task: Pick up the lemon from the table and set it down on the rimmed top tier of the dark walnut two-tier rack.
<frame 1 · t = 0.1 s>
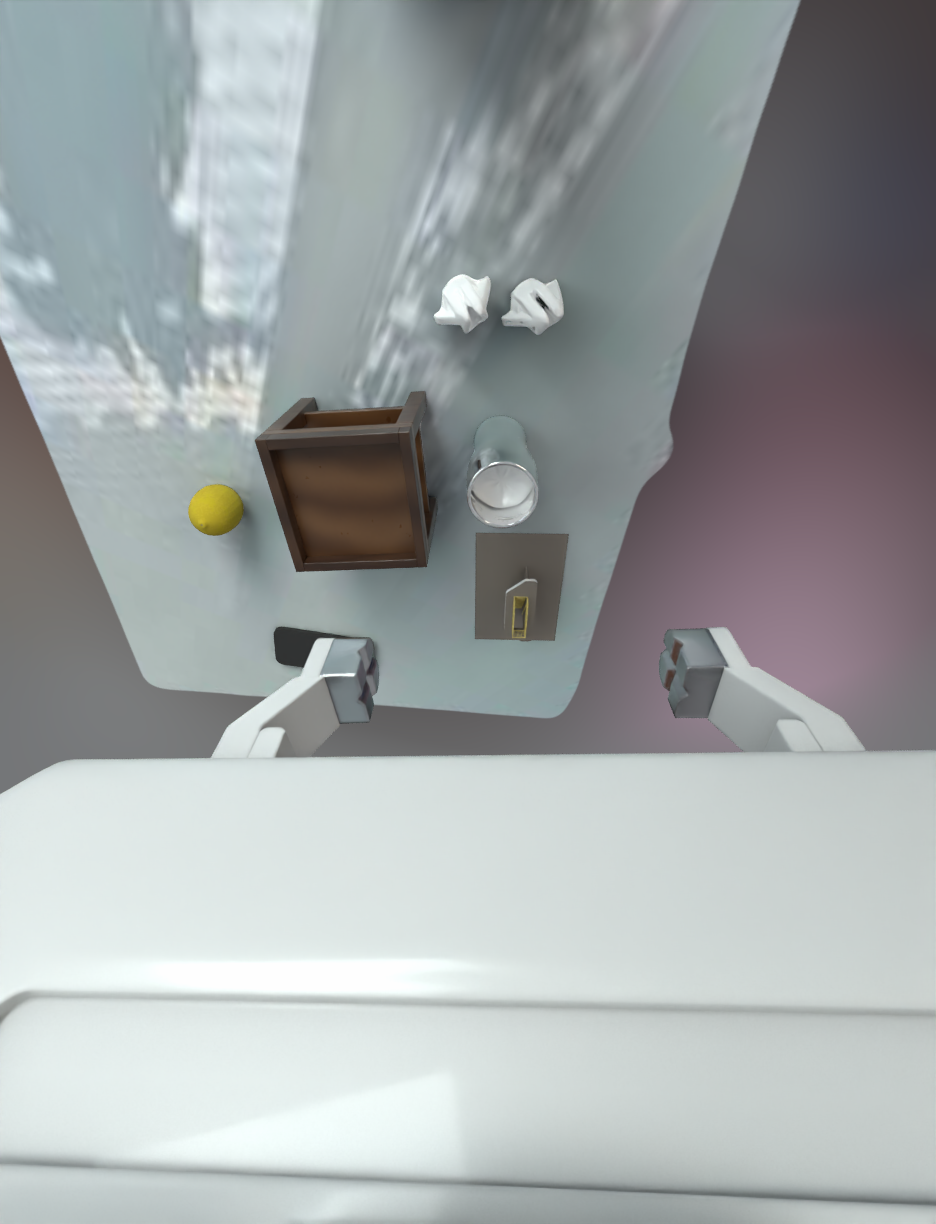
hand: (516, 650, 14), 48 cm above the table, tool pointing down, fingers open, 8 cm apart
platform: (518, 589, 71), on the table
rack: (373, 456, 60), on the table
beer glass: (499, 441, 59), on the table
lemon: (231, 495, 64), on the table
phone: (325, 649, 79), on the table
shaker set: (496, 300, 50), on the table
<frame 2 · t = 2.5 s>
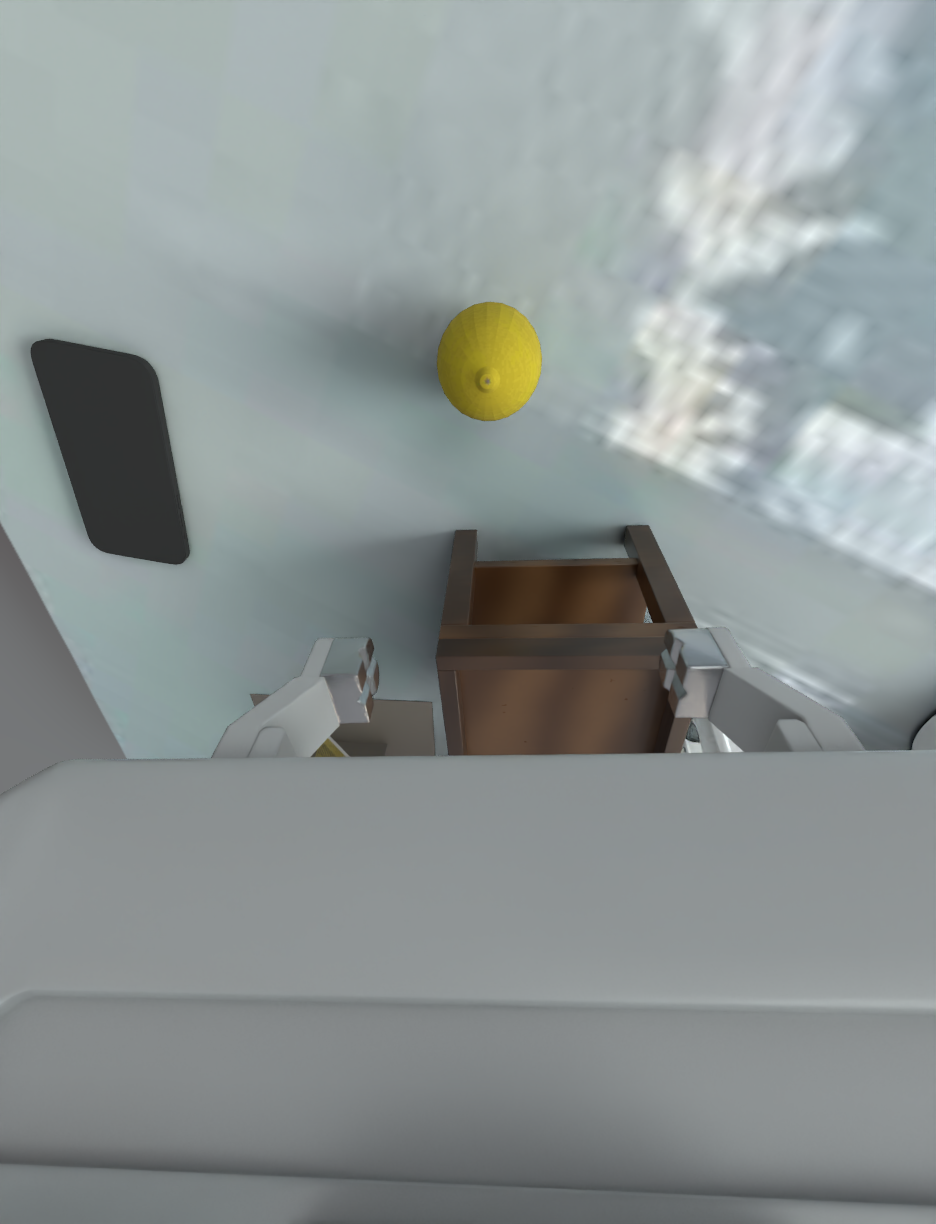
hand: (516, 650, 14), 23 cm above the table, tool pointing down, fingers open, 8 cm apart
platform: (349, 735, 53), on the table
rack: (547, 604, 41), on the table
lemon: (490, 347, 30), on the table
phone: (125, 462, 36), on the table
shaker set: (697, 725, 49), on the table
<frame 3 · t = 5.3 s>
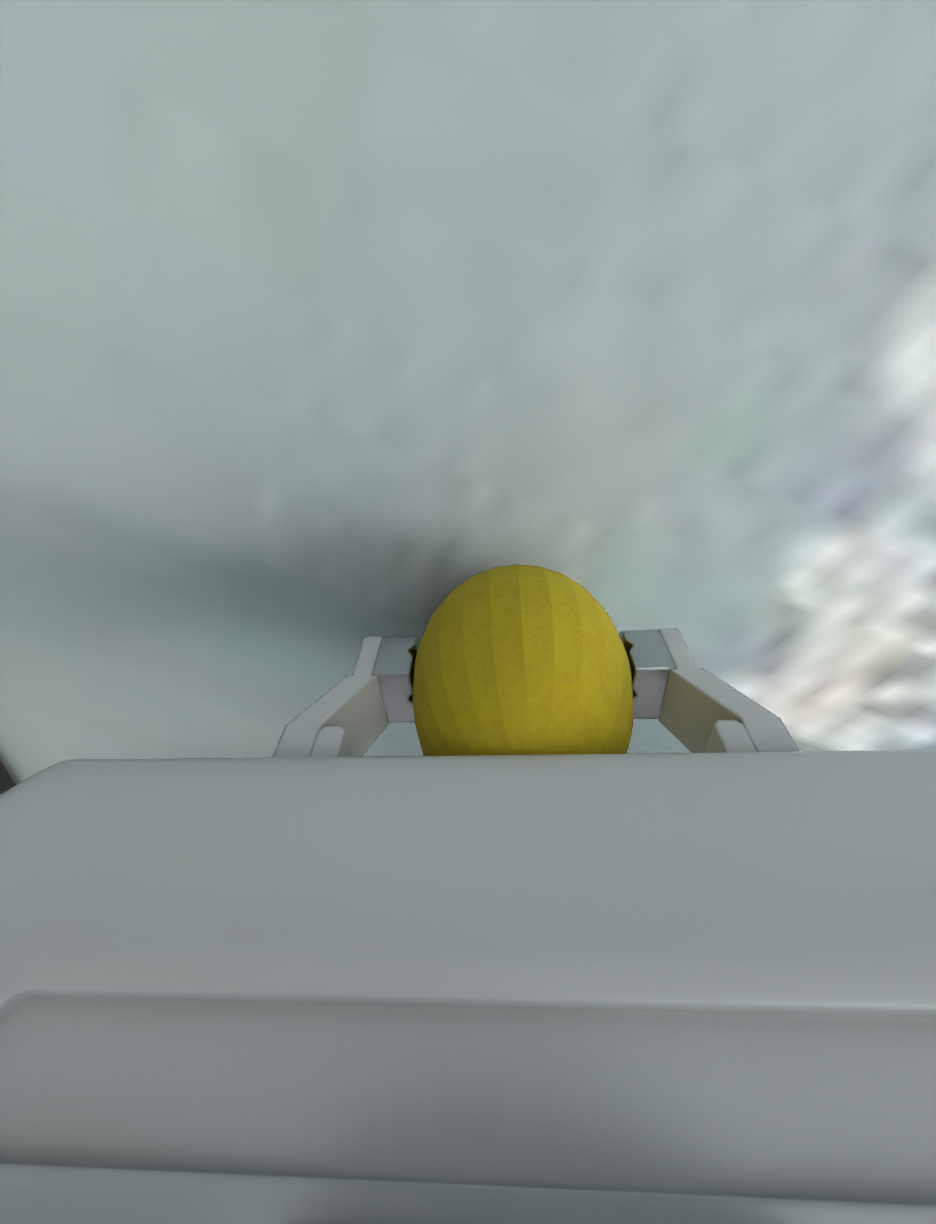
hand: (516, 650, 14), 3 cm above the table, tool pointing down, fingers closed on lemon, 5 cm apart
lemon: (513, 589, 17), on the table, touching gripper
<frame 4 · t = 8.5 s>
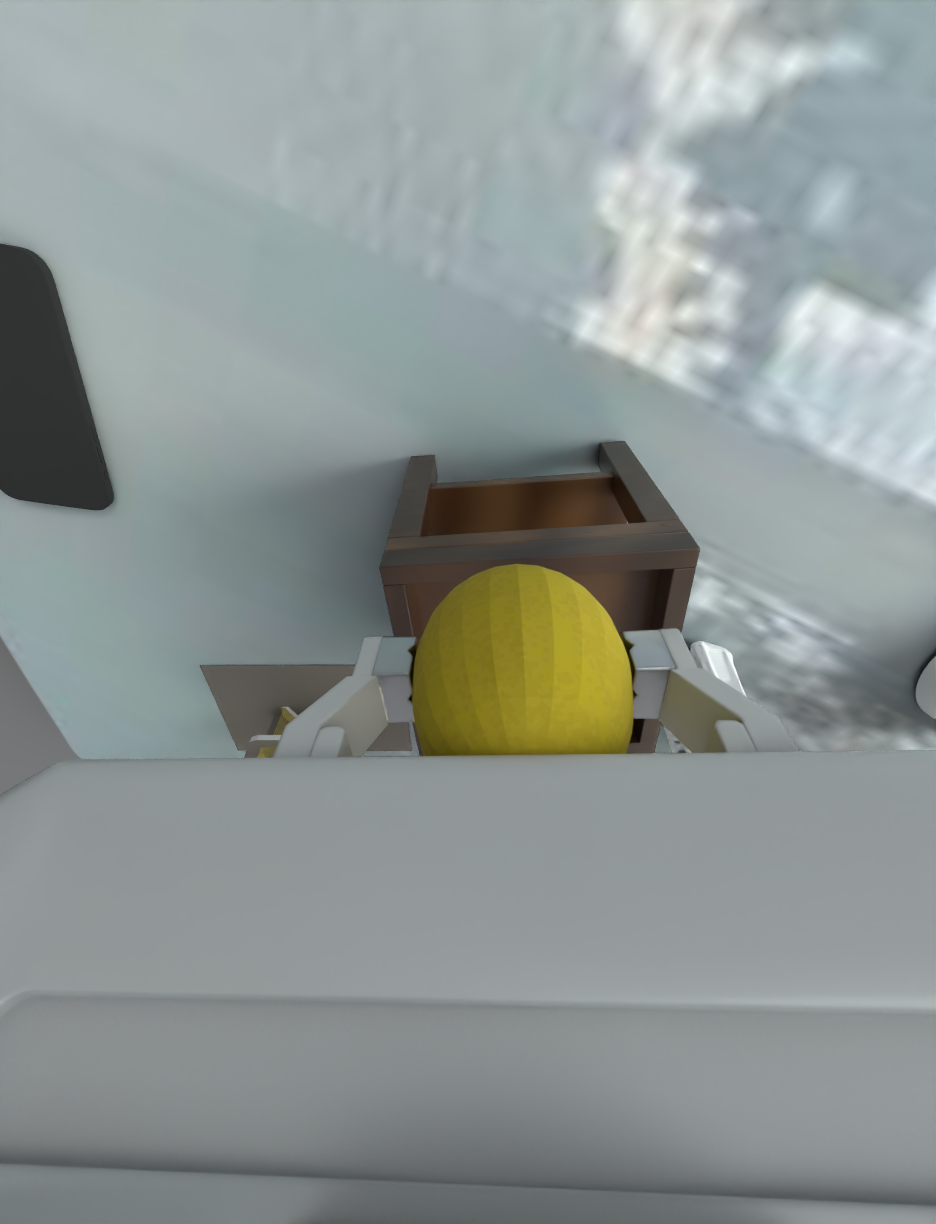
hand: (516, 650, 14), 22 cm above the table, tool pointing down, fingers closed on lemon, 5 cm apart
platform: (313, 709, 49), on the table
rack: (518, 542, 37), on the table
lemon: (513, 589, 17), point 19 cm above the table, touching gripper
phone: (28, 387, 31), on the table
shaker set: (688, 677, 46), on the table
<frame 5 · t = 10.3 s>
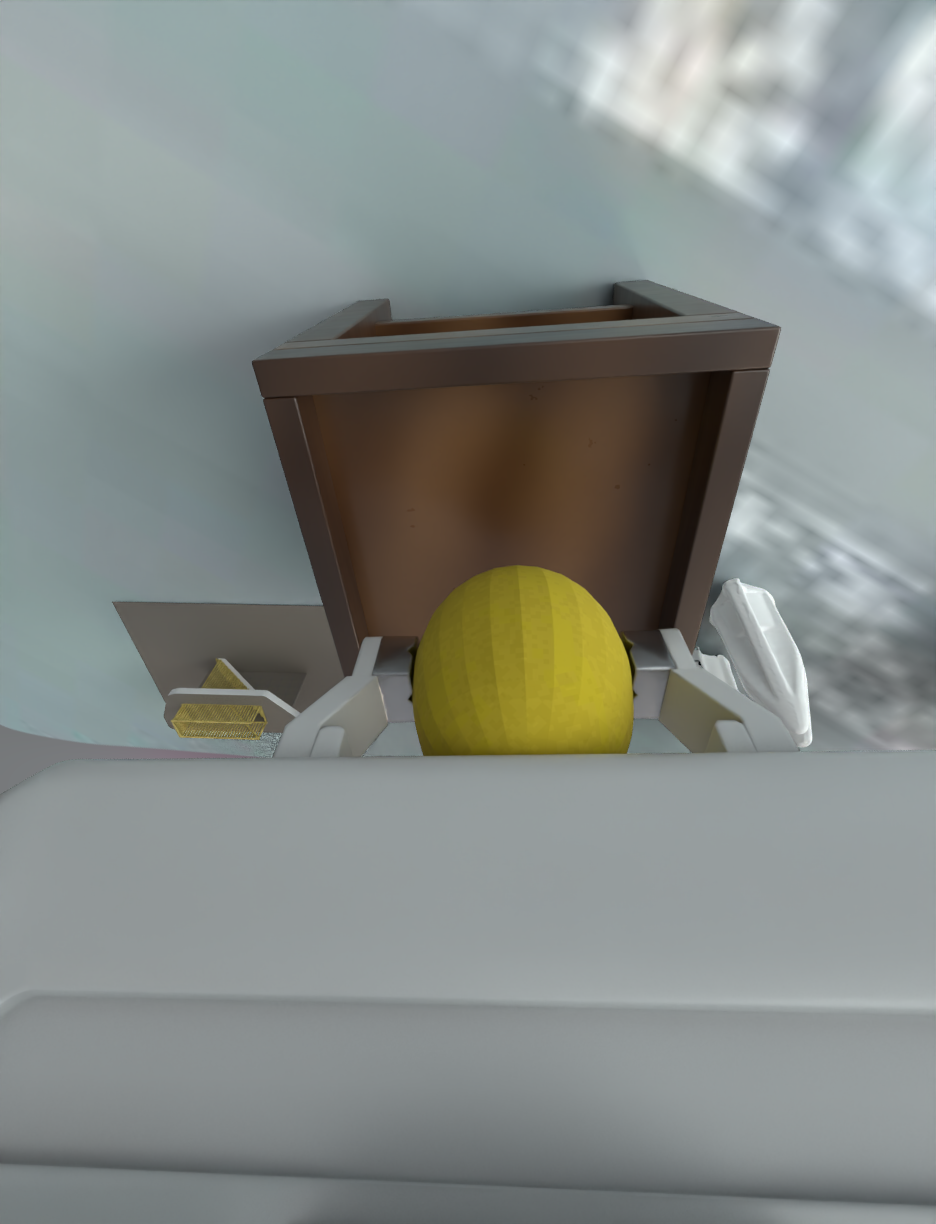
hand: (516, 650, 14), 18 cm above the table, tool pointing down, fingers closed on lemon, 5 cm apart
platform: (256, 663, 40), on the table
rack: (503, 436, 29), on the table
lemon: (513, 590, 17), point 15 cm above the table, touching gripper
shaker set: (715, 632, 37), on the table
when the fingers open (15 cm above the table, at t = 11.7 s): lemon stays where it is, resting on rack.
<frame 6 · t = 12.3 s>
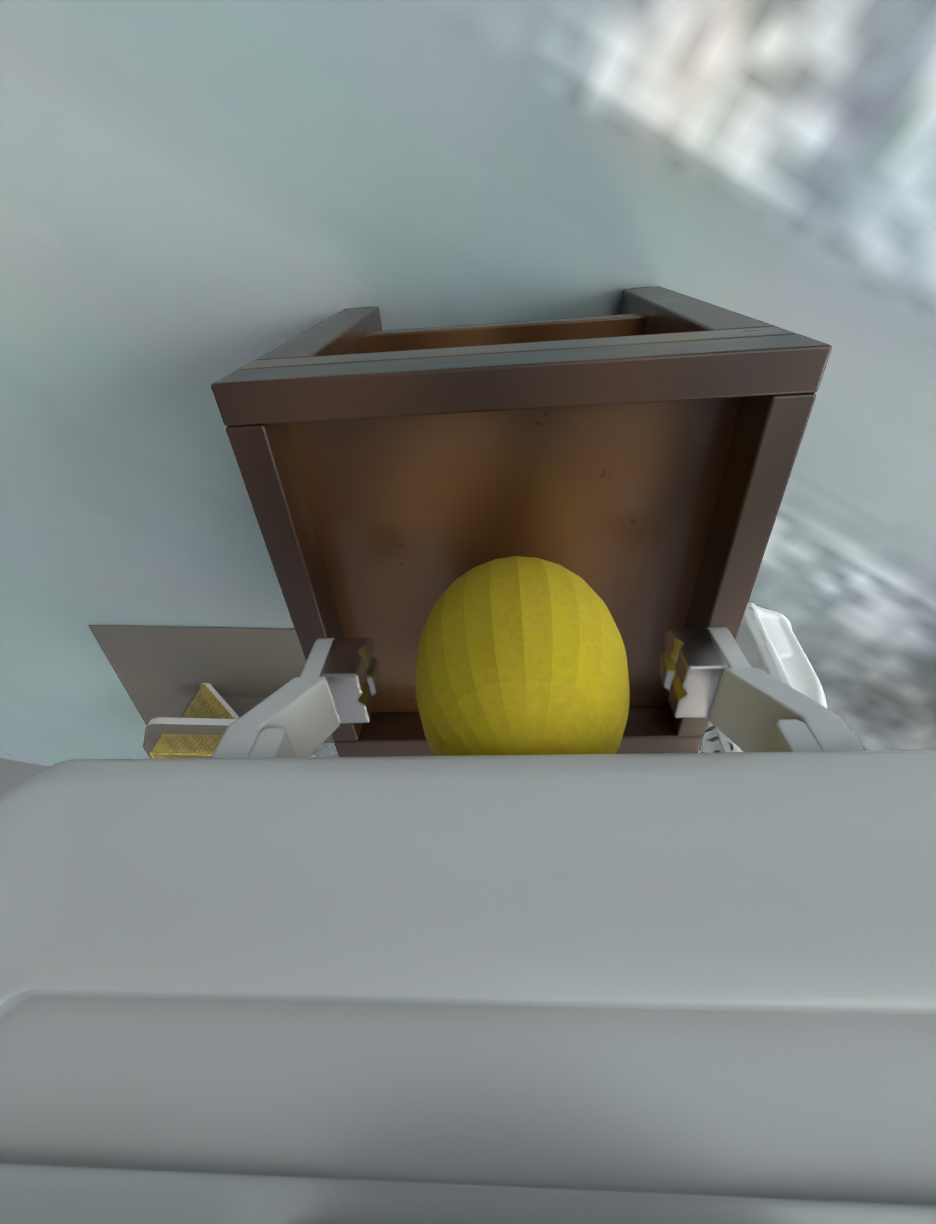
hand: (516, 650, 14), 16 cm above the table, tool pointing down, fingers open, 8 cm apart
platform: (242, 687, 38), on the table
rack: (502, 453, 27), on the table
lemon: (513, 582, 17), point 12 cm above the table, touching rack
shaker set: (726, 655, 35), on the table
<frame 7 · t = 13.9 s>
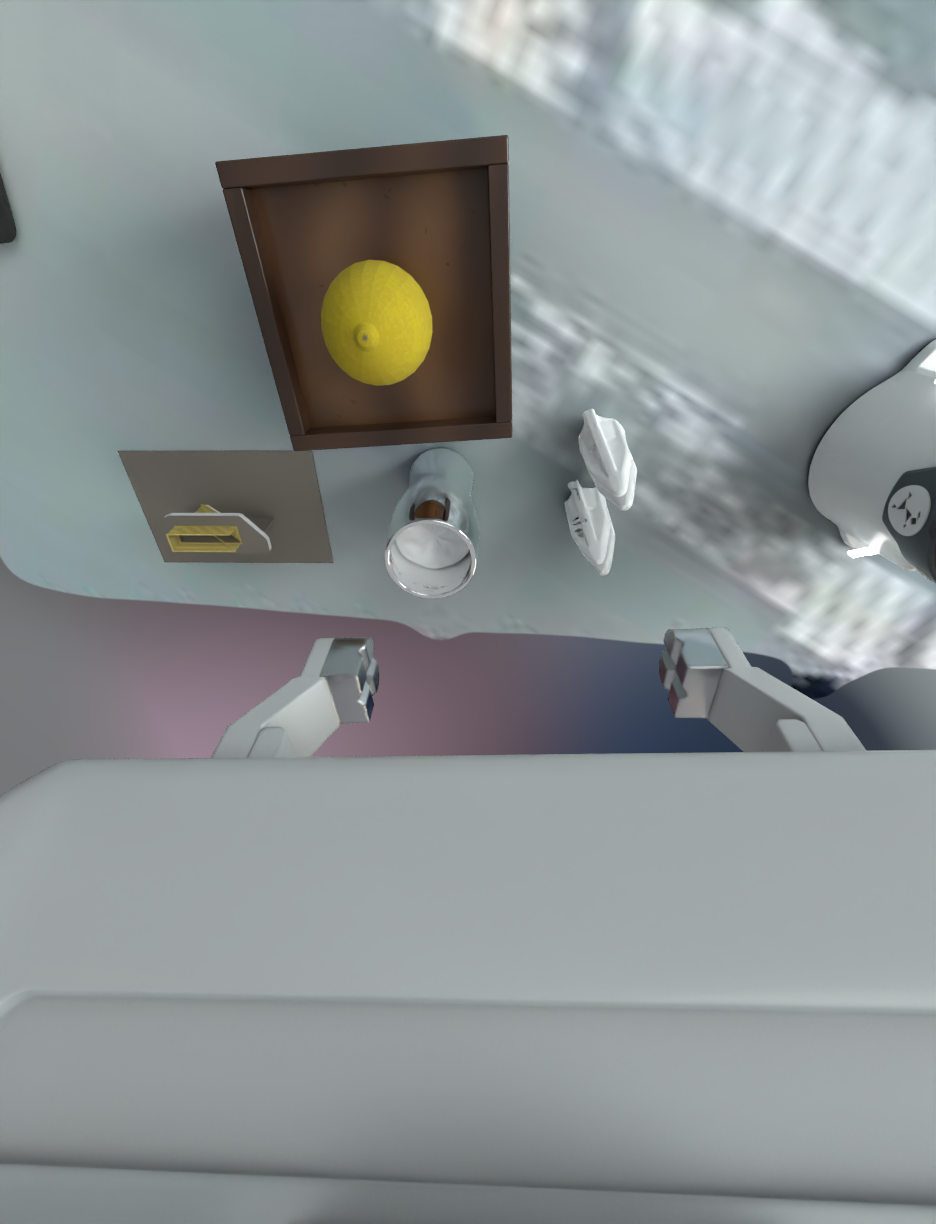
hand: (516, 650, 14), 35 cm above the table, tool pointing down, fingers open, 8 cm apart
platform: (233, 509, 50), on the table
rack: (410, 294, 39), on the table
beer glass: (441, 478, 48), on the table
lemon: (389, 314, 29), point 12 cm above the table, touching rack
shaker set: (590, 469, 48), on the table
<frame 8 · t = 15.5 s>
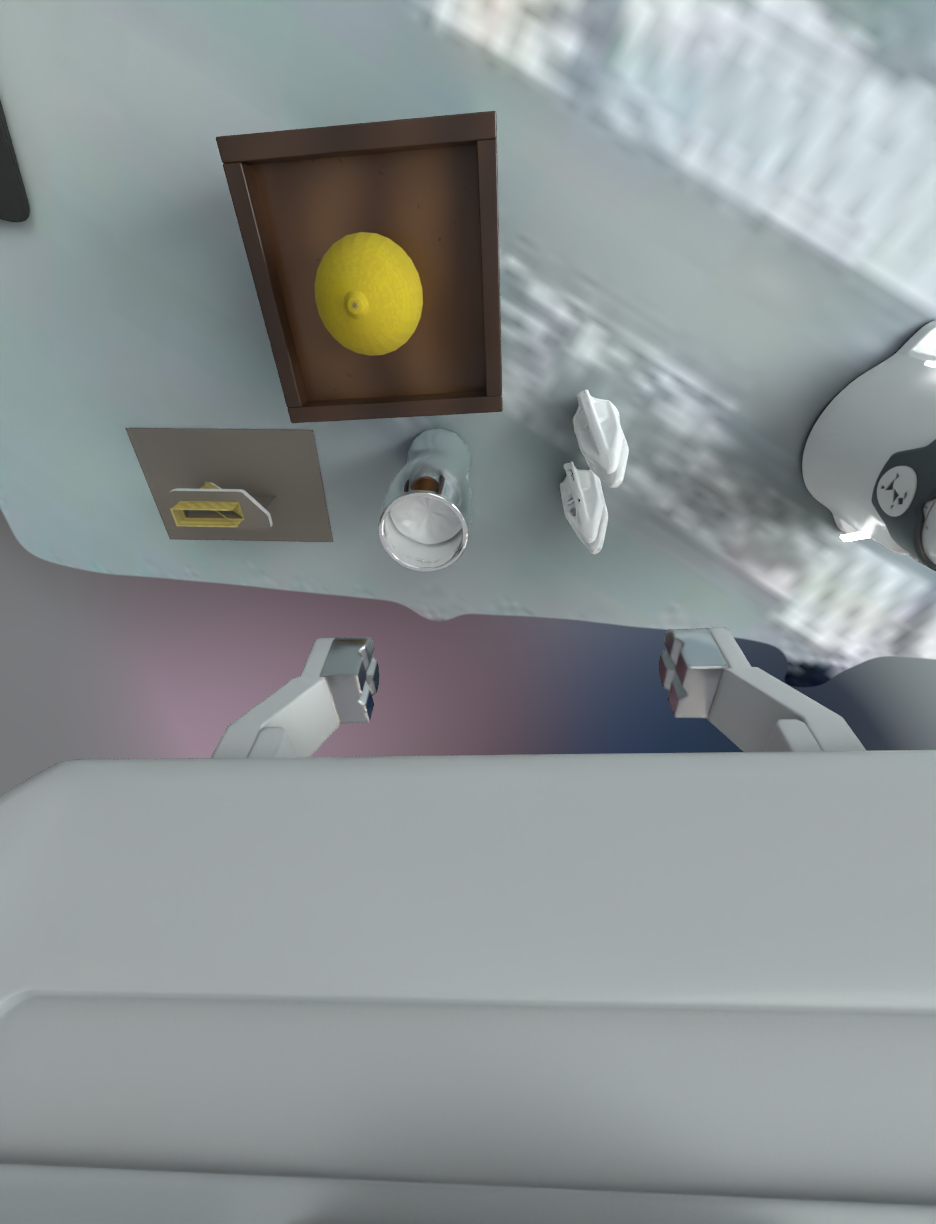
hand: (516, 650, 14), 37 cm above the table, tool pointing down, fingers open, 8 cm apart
platform: (236, 487, 52), on the table
rack: (408, 274, 40), on the table
beer glass: (439, 458, 49), on the table
lemon: (383, 289, 30), point 12 cm above the table, touching rack
shaker set: (585, 451, 48), on the table
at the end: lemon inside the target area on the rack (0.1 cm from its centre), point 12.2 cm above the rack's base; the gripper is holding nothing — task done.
